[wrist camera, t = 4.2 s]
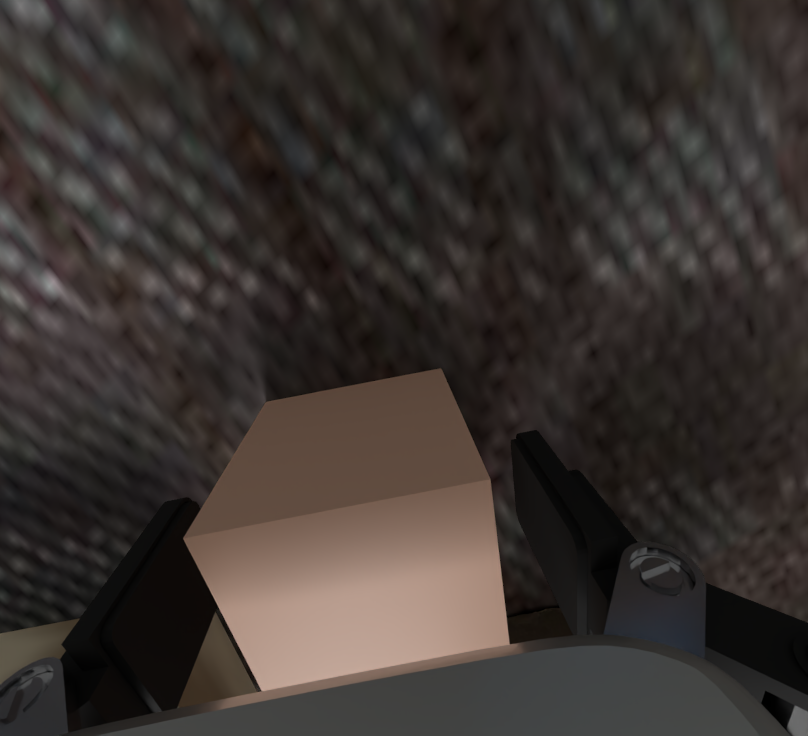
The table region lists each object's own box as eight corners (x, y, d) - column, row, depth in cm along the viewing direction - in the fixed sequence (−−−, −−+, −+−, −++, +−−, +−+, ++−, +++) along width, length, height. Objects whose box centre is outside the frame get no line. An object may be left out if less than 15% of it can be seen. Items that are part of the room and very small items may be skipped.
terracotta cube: (440, 367, 13) (490, 479, 7) (462, 506, 15) (513, 674, 10) (266, 400, 13) (182, 538, 7) (313, 534, 15) (276, 719, 10)
